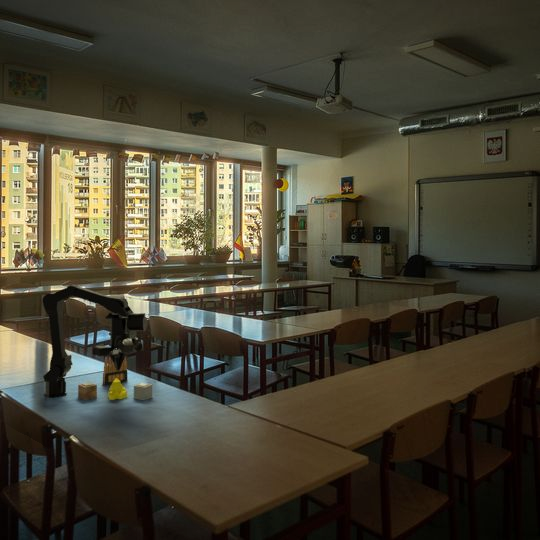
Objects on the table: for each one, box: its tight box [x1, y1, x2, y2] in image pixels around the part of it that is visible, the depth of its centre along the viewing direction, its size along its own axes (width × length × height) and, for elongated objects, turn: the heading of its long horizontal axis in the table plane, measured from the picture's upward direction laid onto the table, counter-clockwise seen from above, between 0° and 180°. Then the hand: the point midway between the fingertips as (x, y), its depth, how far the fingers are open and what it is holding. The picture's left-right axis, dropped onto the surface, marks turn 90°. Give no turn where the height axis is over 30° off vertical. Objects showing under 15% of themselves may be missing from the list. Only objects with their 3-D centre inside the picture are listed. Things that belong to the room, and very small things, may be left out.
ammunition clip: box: [101, 355, 128, 387], centre depth 222 cm, size 11×2×12 cm, turn 135°
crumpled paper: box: [107, 378, 128, 401], centre depth 203 cm, size 6×8×8 cm
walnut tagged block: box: [77, 382, 98, 401], centre depth 202 cm, size 5×5×5 cm
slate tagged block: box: [133, 382, 153, 401], centre depth 203 cm, size 5×5×5 cm
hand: (118, 370), depth 203 cm, fingers closed
